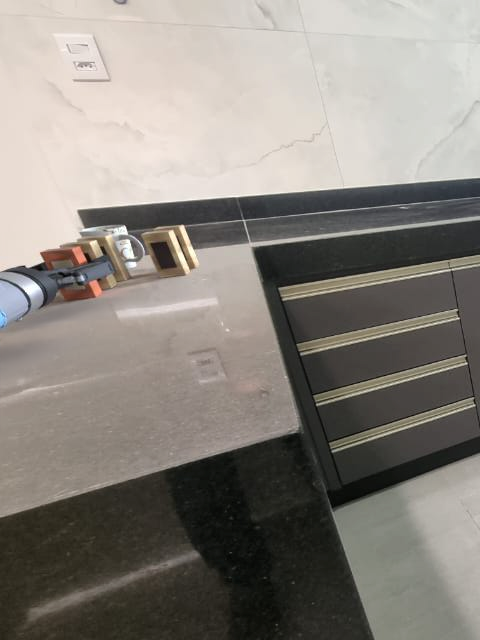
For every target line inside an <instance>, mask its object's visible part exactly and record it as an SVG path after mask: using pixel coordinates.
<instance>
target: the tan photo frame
mask: <svg viewBox="0 0 480 640" xmlns="http://www.w3.org/2000/svg"><path fill="white" fill-rule="evenodd" d="M77 246H80V248H81V250H82V252H83V254H84V256H85V258H86V260H87V262H88V263H90V262H89V261H91V260H94V259H96V258H98V257H100V256H103V255H107V254H109V256H110V258H111V260H112V262H113V264H114V266H115V267H113V269H114V271H115V273H113V274H110V275H107V277H102V278H99V279H97V282H98V284H99V286H100V288H101V290H102V291H103V290H109V289H110V290H111V289H113V288H115V287H116V286H118V282H124V281H127V280H129V279H130V278H132V276H131V274H130V271H129V269H127V267H126V265H125V263H124V261H123V259H122V256H121V254H120V252H119V250H118V248H117V246H116V243H115V241H114V239H113V237H112V235H111V234H109V235H98V236H88V237H82V236H81V237H80V238H77V239H76V241H72V242H66V243H62V244H60V245H59V248H67V247H77Z"/></svg>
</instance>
